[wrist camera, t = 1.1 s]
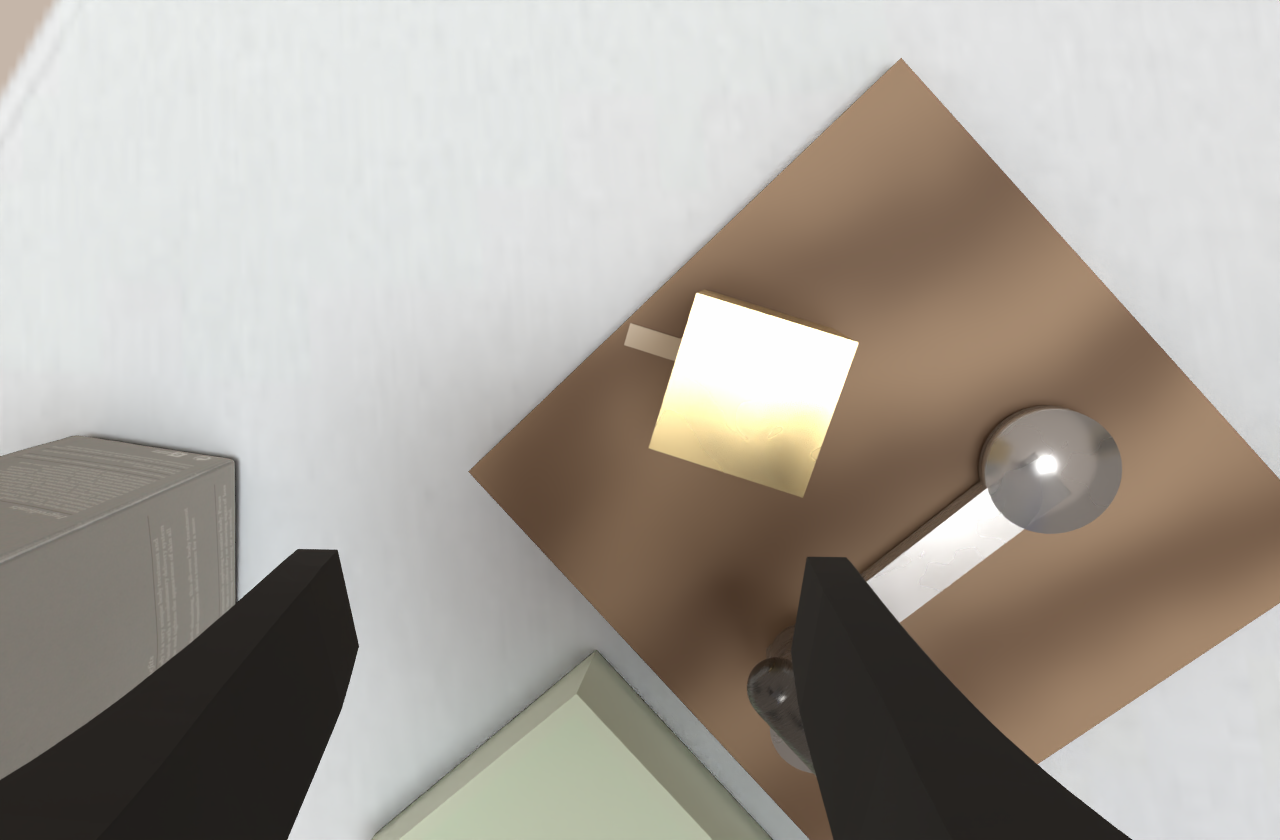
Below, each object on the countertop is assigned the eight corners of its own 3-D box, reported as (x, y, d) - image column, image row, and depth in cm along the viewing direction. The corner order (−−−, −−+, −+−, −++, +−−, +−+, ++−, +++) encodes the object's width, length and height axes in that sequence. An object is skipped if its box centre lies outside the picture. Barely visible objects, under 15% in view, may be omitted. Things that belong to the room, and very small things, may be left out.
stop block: (833, 328, 23) (858, 342, 18) (789, 453, 24) (803, 497, 19) (705, 289, 24) (696, 292, 19) (666, 413, 24) (648, 448, 20)
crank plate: (1324, 545, 23) (1351, 557, 22) (850, 865, 27) (854, 889, 26) (895, 67, 23) (901, 57, 22) (479, 464, 27) (467, 472, 26)
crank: (1042, 366, 22) (1131, 393, 17) (1148, 484, 23) (1271, 548, 17) (729, 617, 25) (720, 709, 20) (826, 721, 25) (843, 841, 20)
